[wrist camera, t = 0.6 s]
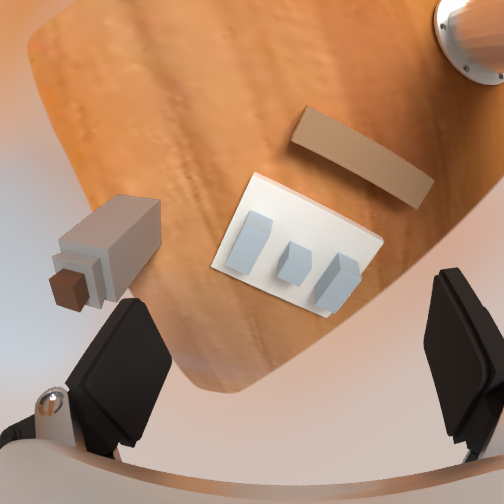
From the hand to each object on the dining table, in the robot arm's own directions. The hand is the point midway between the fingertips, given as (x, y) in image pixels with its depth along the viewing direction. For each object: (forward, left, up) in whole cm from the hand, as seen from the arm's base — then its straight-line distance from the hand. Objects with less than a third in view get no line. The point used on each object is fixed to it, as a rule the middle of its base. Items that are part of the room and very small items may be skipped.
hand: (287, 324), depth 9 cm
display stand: (+12, +6, -29) cm, 32 cm away
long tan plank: (-3, +7, -29) cm, 30 cm away
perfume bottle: (+18, -15, -29) cm, 37 cm away
